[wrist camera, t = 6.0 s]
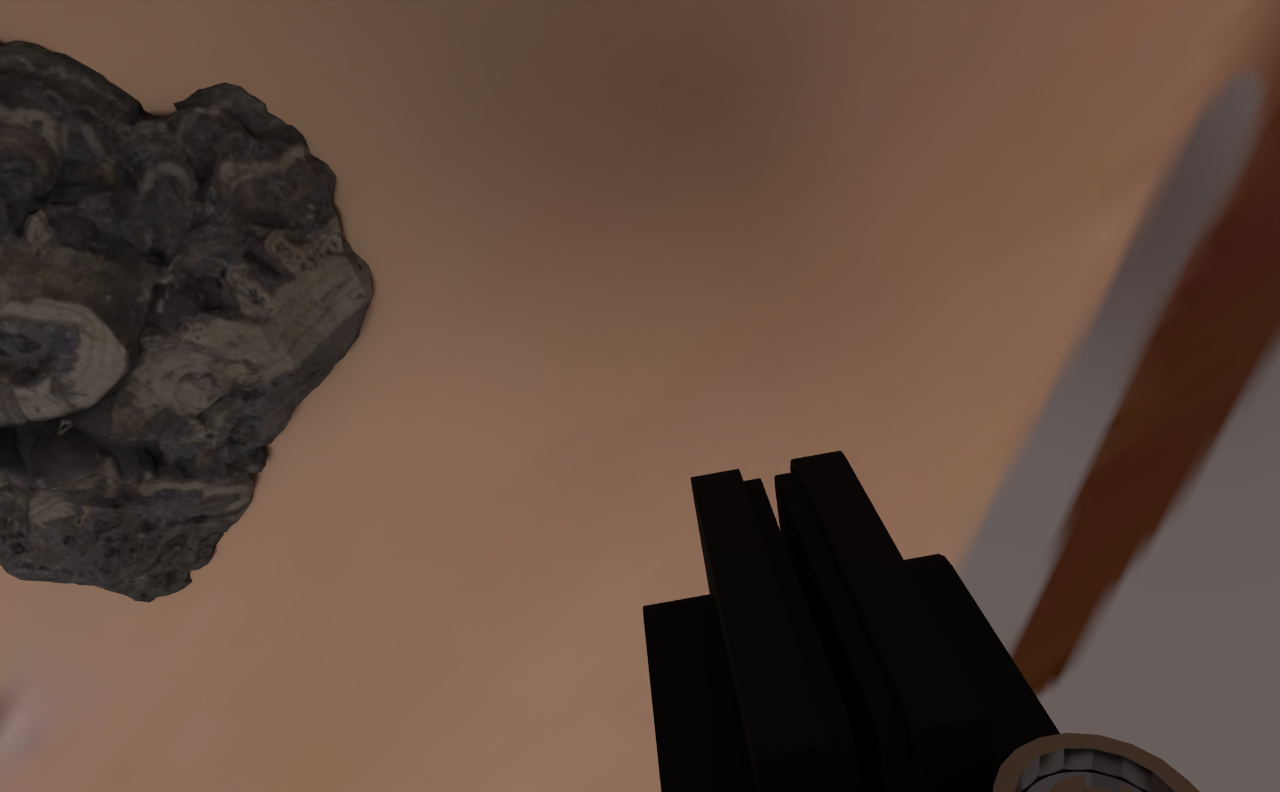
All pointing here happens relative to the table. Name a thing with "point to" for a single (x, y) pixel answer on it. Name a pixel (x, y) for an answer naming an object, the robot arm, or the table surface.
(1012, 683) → the robot arm
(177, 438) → the grey rough rock slab
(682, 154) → the table surface
